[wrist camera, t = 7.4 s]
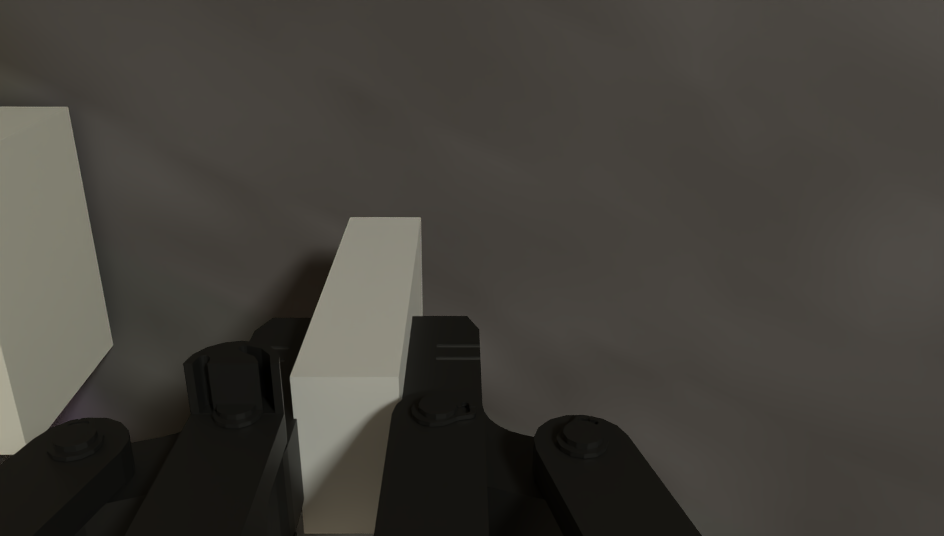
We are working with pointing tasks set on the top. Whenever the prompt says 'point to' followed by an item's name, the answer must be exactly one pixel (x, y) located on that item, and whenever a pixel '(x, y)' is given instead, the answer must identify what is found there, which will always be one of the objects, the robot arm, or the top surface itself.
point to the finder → (44, 275)
